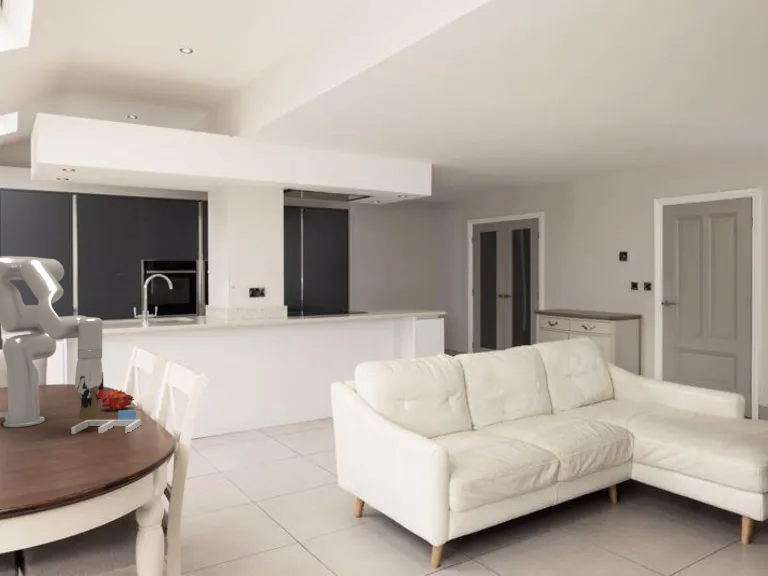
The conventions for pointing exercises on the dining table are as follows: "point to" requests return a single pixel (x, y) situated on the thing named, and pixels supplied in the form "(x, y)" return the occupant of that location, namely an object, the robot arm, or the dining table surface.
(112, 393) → the dragon fruit
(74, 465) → the dining table surface
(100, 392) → the soda can
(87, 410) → the olive rounded piece
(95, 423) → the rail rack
